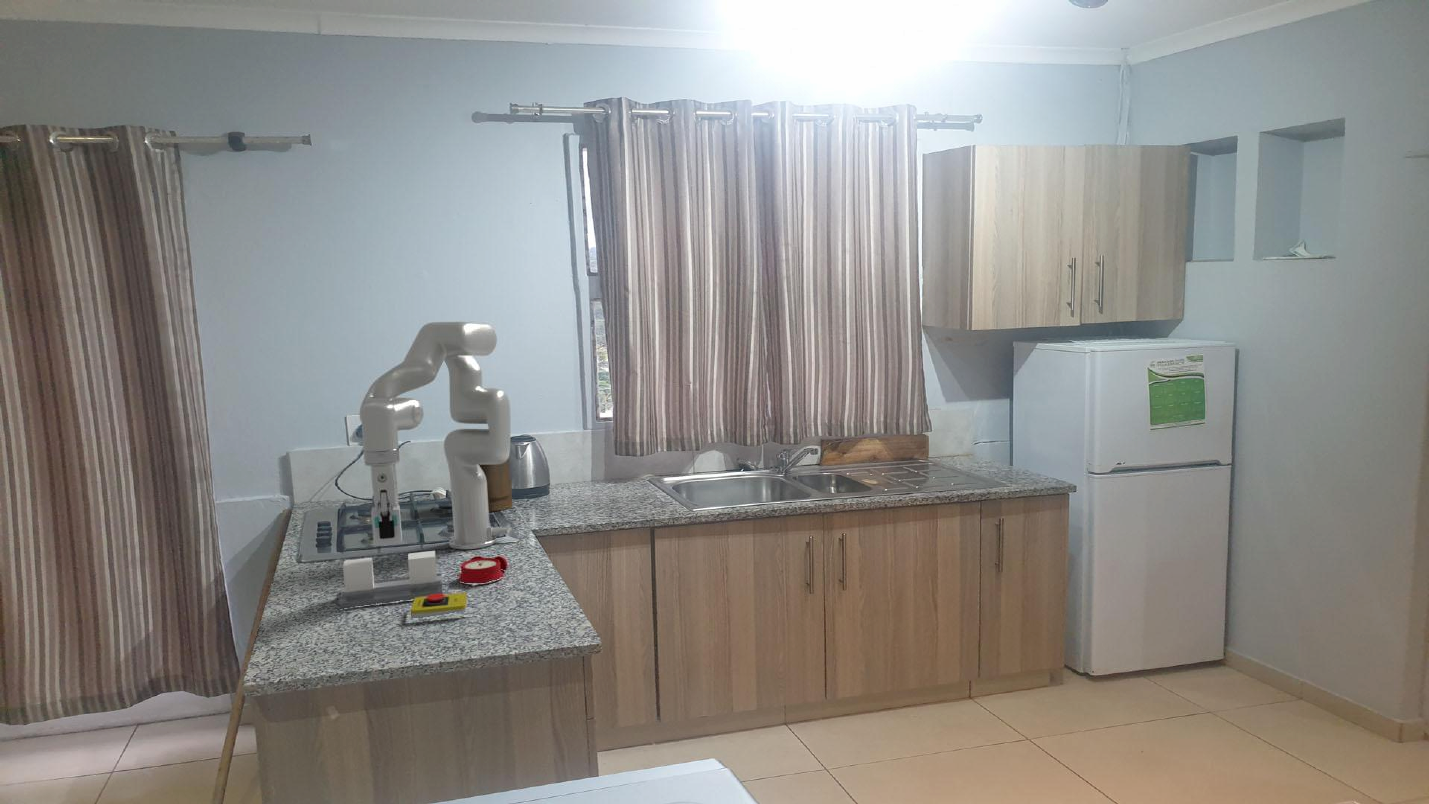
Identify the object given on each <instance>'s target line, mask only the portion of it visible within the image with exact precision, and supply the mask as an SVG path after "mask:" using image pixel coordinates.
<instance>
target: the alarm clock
mask: <svg viewBox="0 0 1429 804" xmlns="http://www.w3.org/2000/svg"><path fill="white" fill-rule="evenodd" d="M501 569H503V570H505V572H506V571H507V569H508V561H507V559H506V558H505V557H503V556H500V555H499V556H495V557H483V556H481V555H475V556H473V557H472V558H471V559H469V560H467V561H464V562H462V563H461V565H460V572H461V573H460V574H456V577H459V578H458V581H459V580H460V581H461V582H464V583H486V582H489V581H492V580H497V579H499V578H500V577H503V578H504V572H503V571H501Z"/></svg>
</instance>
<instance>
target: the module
mask: <svg viewBox="0 0 1429 804" xmlns="http://www.w3.org/2000/svg"><path fill="white" fill-rule="evenodd" d="M387 507H390V506H387ZM380 508H381V507H380ZM391 508H392V520H394V533H395V537H394V538H386V539H380V534H379V508H378V509H377V508H375V506H371V510H370V513H371V528H372V539H373V540H372V541H373V548H374V547H381V546H384V547H385V546H392V545H402V544H403V543H402V542H403V535H402V534H403V533H402V523H401V522H402V520H401V519H402V518H401V508H400V504H398V506H397V507H396V508H395V506H391ZM388 511H389V510H388ZM381 512H382V511H381Z"/></svg>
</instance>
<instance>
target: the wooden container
mask: <svg viewBox="0 0 1429 804" xmlns="http://www.w3.org/2000/svg"><path fill="white" fill-rule="evenodd" d="M478 465H479V466H480V467H481V469H482V470H483V472H484V474H485V476H486V480H487V493H488V509H489V513H492V512H499V511H503V510H507V509H509V508H511V507H512V506H513V495H512V491H513V490H512V480H511V469H510V468H511V467H510V456H509V457H508V459H507V461H506V462H504V463H502V464H497V465H483V464H478Z"/></svg>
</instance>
